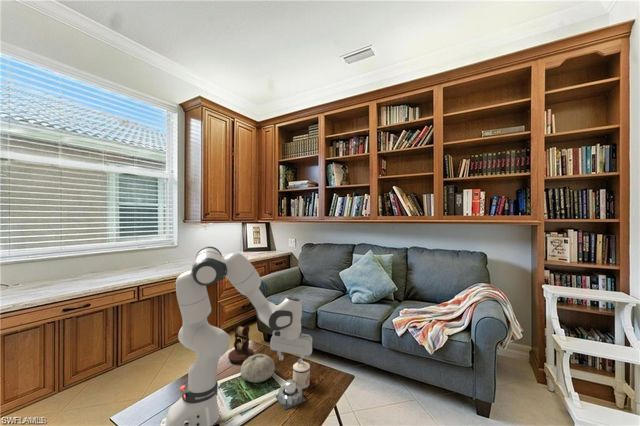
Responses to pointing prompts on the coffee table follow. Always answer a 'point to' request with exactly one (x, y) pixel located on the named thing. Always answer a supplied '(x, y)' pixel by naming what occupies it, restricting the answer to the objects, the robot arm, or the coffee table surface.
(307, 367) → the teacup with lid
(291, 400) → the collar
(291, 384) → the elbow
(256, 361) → the decorative shell
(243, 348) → the carved wooden figurine
